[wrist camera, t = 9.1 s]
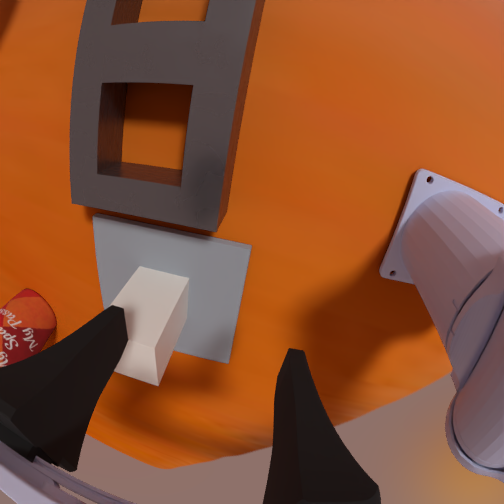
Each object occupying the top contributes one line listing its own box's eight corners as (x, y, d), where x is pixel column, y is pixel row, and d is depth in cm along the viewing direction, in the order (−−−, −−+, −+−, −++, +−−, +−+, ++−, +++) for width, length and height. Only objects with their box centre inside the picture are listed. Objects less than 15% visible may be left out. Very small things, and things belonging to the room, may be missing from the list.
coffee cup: (64, 303, 26) (-16, 411, 13) (65, 346, 30) (7, 438, 17) (11, 267, 25) (-72, 353, 12) (17, 313, 29) (-45, 392, 16)
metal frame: (281, -72, 9) (279, -95, 7) (226, 212, 19) (216, 232, 17) (134, -66, 9) (114, -80, 7) (95, 188, 19) (71, 203, 17)
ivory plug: (189, 278, 21) (154, 348, 15) (187, 317, 23) (158, 386, 17) (139, 265, 22) (93, 328, 16) (141, 305, 24) (105, 367, 18)
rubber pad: (252, 245, 20) (250, 249, 20) (229, 358, 26) (228, 363, 26) (96, 212, 20) (92, 216, 20) (111, 326, 26) (108, 330, 26)
